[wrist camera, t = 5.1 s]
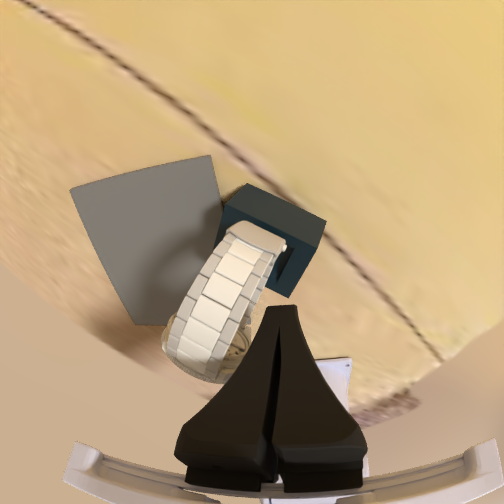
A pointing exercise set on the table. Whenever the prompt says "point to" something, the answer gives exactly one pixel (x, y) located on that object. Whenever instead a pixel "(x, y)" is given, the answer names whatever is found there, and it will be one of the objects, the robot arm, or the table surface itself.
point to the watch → (240, 281)
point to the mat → (153, 232)
